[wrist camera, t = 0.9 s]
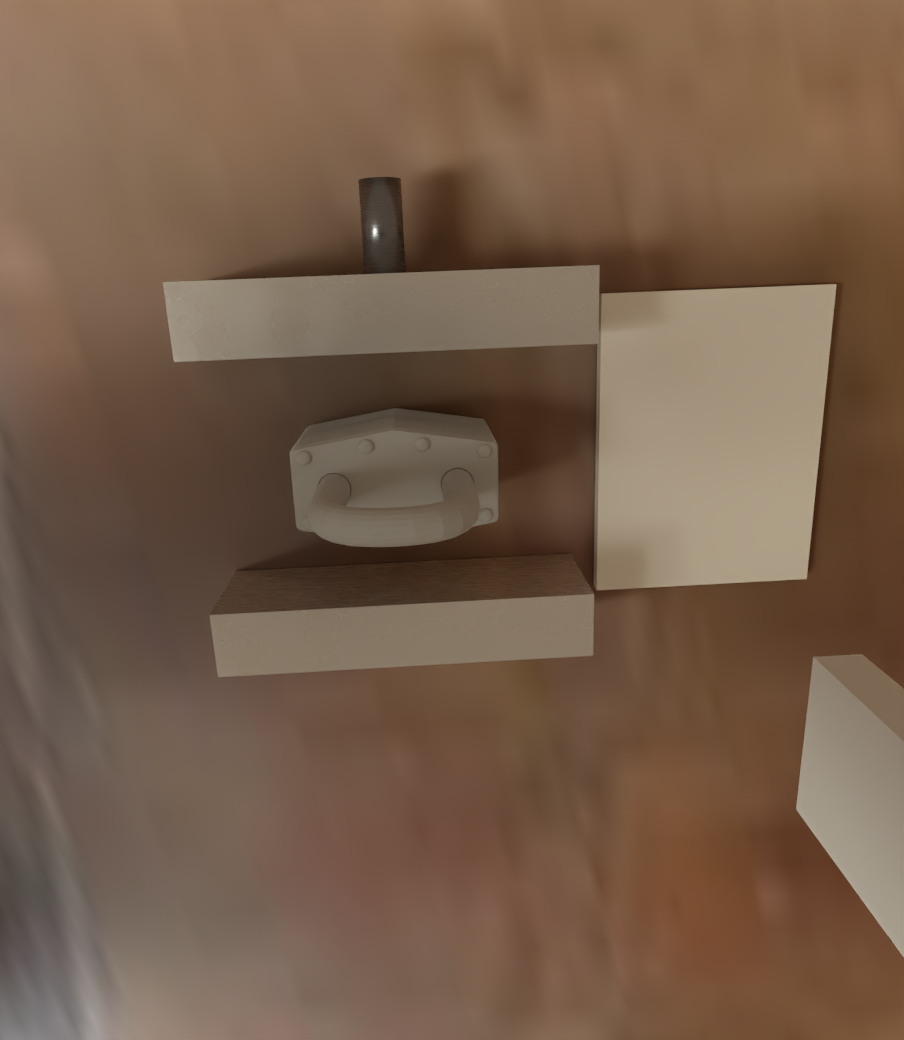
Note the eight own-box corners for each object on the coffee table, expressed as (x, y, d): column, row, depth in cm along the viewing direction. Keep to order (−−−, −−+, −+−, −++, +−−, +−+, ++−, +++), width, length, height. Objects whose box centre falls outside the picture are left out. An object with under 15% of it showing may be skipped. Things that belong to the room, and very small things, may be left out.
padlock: (485, 403, 31) (518, 457, 22) (486, 500, 32) (518, 593, 23) (305, 409, 31) (257, 468, 21) (313, 508, 32) (272, 605, 23)
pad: (593, 584, 34) (596, 590, 33) (598, 293, 30) (601, 293, 29) (800, 573, 34) (806, 579, 33) (828, 284, 30) (836, 284, 30)
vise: (242, 625, 33) (217, 677, 29) (188, 195, 28) (148, 179, 24) (570, 607, 34) (593, 655, 30) (573, 181, 29) (601, 164, 25)
